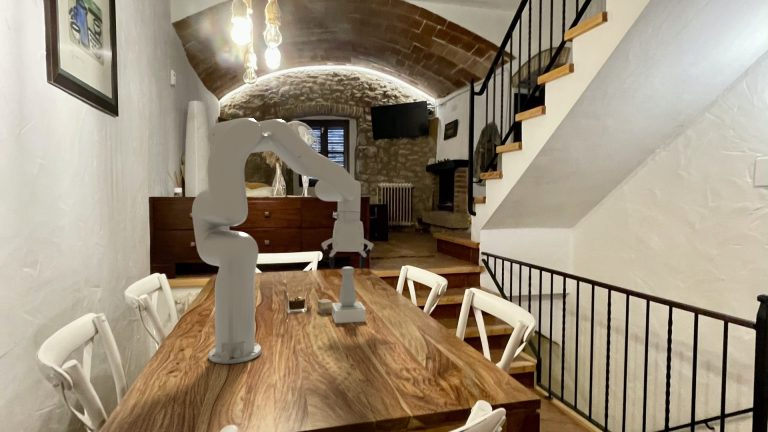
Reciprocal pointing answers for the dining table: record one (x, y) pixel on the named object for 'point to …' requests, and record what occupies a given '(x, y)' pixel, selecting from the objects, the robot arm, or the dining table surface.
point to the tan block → (324, 306)
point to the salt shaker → (347, 288)
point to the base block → (348, 313)
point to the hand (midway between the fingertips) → (347, 268)
